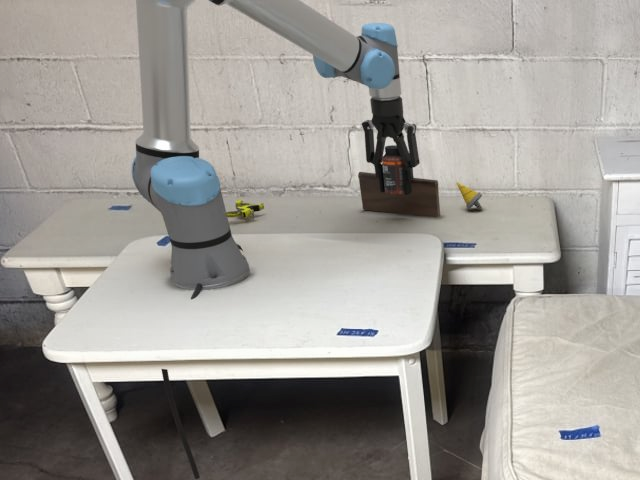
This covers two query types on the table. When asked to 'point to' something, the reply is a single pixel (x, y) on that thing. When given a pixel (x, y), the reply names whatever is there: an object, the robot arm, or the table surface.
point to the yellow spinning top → (470, 196)
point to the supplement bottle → (393, 171)
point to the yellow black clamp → (245, 209)
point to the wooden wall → (400, 197)
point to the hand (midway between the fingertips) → (396, 191)
